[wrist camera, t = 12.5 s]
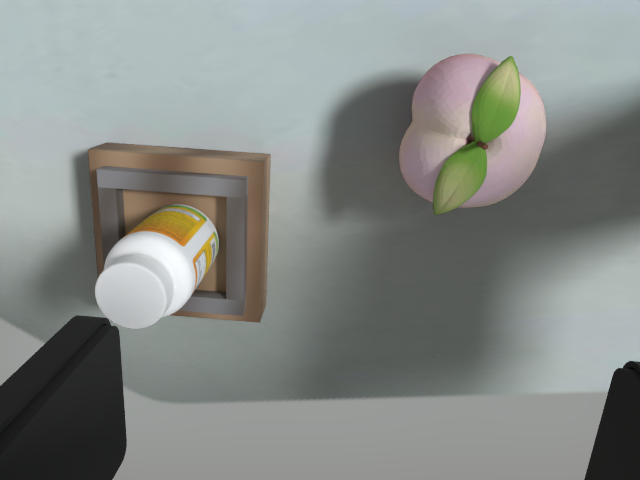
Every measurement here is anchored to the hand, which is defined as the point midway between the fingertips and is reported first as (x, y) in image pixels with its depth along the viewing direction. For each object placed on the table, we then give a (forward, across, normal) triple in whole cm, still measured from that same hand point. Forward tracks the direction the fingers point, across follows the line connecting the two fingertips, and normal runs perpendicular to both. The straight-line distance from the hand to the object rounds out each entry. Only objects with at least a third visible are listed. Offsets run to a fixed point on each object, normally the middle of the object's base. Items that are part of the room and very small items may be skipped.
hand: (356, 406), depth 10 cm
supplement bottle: (+28, +12, +7) cm, 31 cm away
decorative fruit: (+31, -7, -2) cm, 31 cm away
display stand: (+30, +12, +7) cm, 33 cm away
